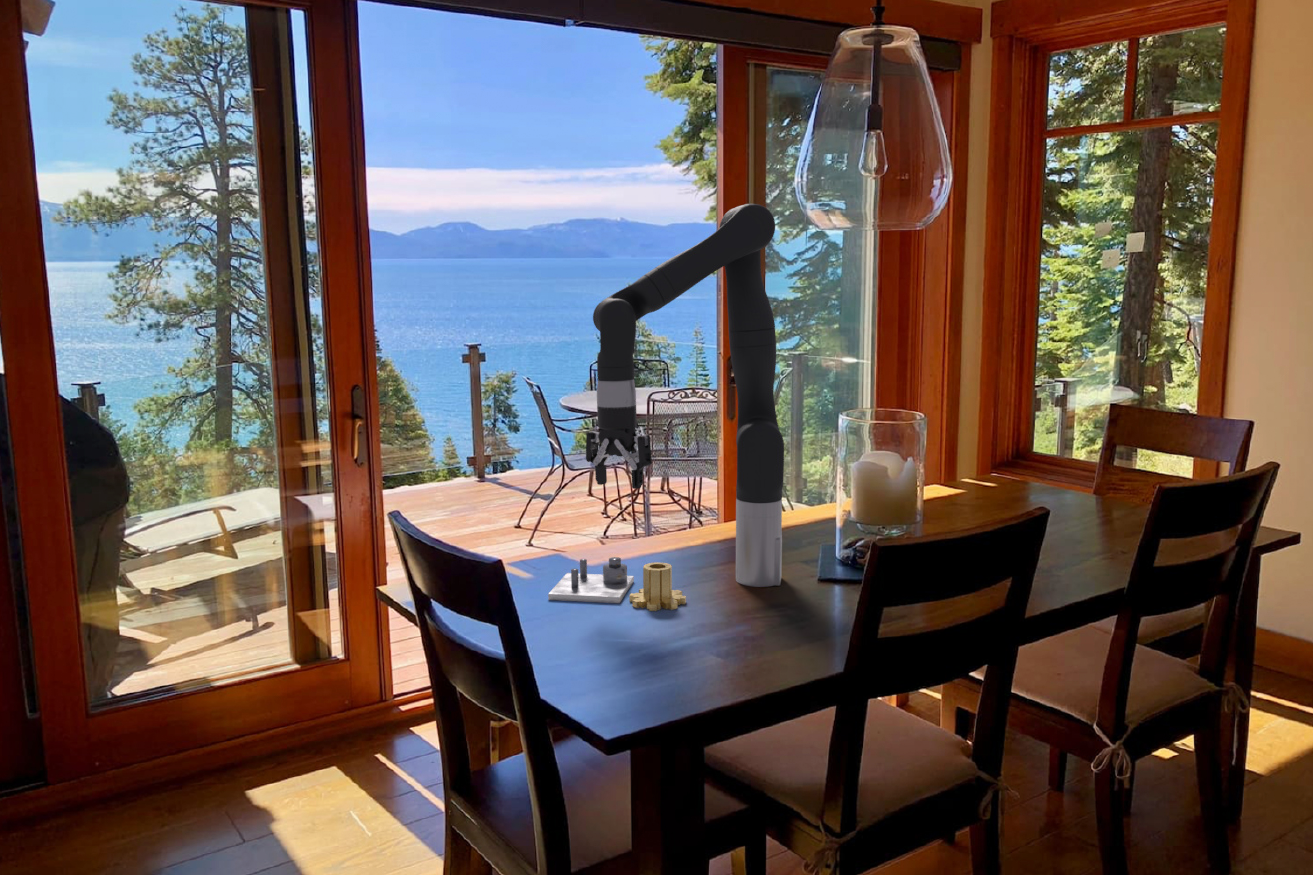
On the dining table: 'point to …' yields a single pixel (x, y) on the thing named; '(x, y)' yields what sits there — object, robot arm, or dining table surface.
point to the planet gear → (657, 589)
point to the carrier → (594, 584)
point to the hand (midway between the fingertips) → (619, 486)
